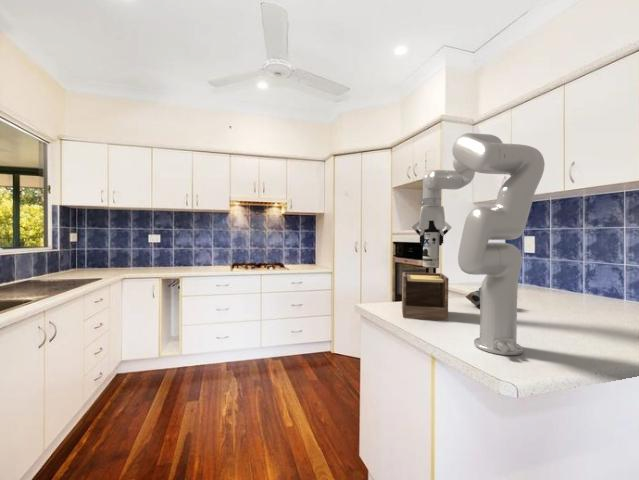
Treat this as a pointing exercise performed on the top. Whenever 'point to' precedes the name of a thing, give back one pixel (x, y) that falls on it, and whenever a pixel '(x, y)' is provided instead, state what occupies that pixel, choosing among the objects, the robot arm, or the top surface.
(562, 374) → the top surface
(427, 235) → the spray can
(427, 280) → the trapdoor
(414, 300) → the stand
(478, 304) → the lucky cat figurine
